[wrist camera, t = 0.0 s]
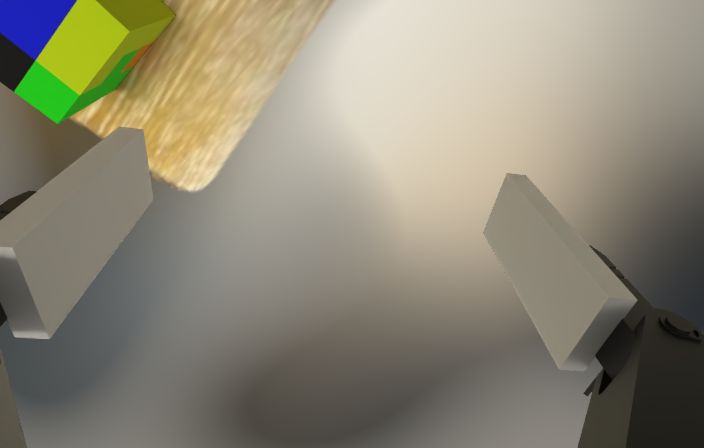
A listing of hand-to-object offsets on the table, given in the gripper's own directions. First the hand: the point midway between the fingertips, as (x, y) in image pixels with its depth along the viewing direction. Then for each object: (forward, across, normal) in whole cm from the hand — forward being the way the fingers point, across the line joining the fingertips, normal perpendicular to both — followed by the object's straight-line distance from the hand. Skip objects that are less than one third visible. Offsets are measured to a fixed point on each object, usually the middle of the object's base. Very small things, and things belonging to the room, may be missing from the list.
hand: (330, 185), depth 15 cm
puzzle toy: (+28, -21, 0) cm, 35 cm away
